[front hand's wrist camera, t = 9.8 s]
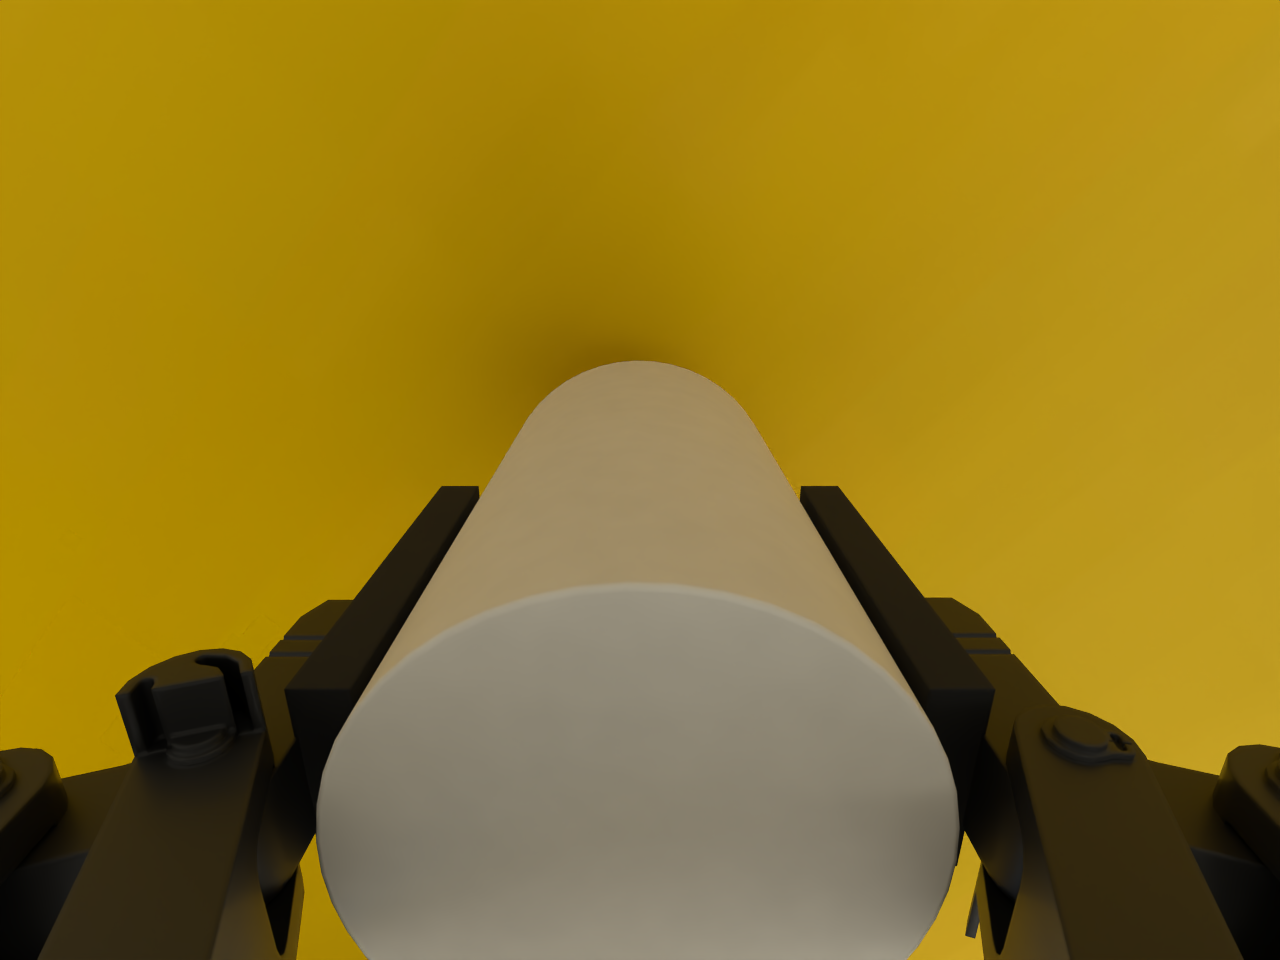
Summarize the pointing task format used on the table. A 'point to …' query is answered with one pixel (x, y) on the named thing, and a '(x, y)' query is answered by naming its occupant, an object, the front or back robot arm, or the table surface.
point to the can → (638, 716)
